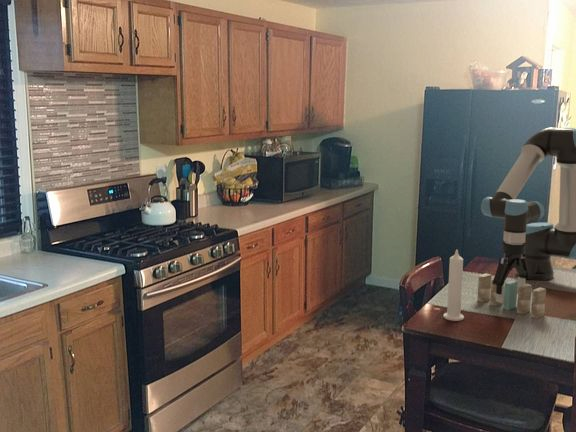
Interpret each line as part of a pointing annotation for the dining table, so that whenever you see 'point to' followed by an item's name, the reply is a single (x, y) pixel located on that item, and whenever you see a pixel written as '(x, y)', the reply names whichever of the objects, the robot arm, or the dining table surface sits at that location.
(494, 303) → the tile
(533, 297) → the tile
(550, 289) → the dining table surface
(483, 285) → the light brown flat block
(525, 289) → the tile
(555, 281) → the dining table surface
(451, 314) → the white post
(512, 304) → the tile
